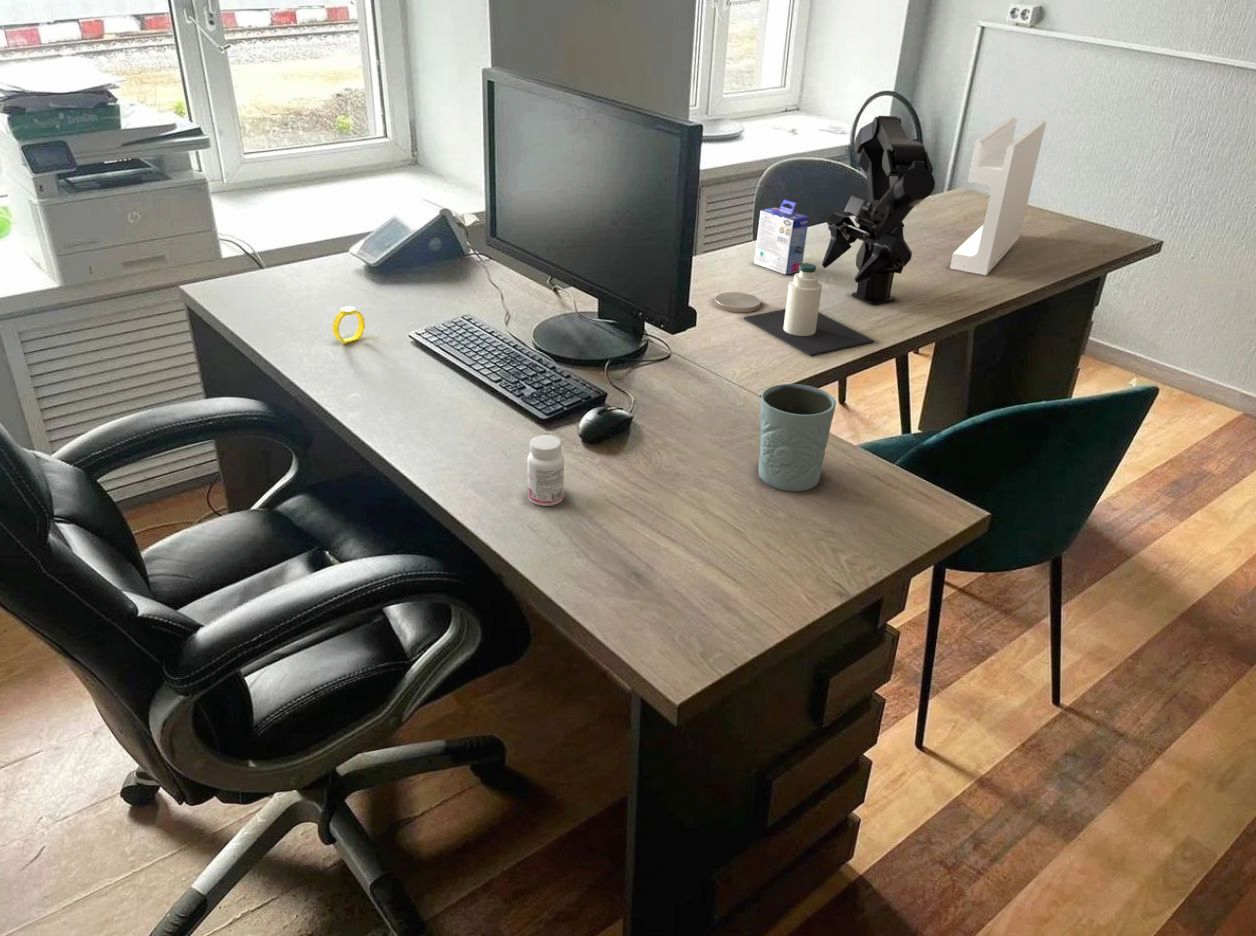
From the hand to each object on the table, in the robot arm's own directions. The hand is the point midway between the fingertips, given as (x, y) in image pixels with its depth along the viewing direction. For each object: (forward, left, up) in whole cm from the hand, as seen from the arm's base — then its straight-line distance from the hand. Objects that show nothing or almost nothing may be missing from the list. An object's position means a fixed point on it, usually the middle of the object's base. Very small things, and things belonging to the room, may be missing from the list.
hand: (839, 273), depth 188 cm
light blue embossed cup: (+44, +42, -10) cm, 62 cm away
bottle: (+8, 0, -10) cm, 13 cm away
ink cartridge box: (-12, -32, -10) cm, 36 cm away
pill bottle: (+77, +32, -10) cm, 84 cm away
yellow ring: (+84, -31, -10) cm, 90 cm away
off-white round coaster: (+10, -17, -10) cm, 22 cm away
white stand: (-65, -21, -10) cm, 69 cm away
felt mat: (+6, 0, -10) cm, 12 cm away
